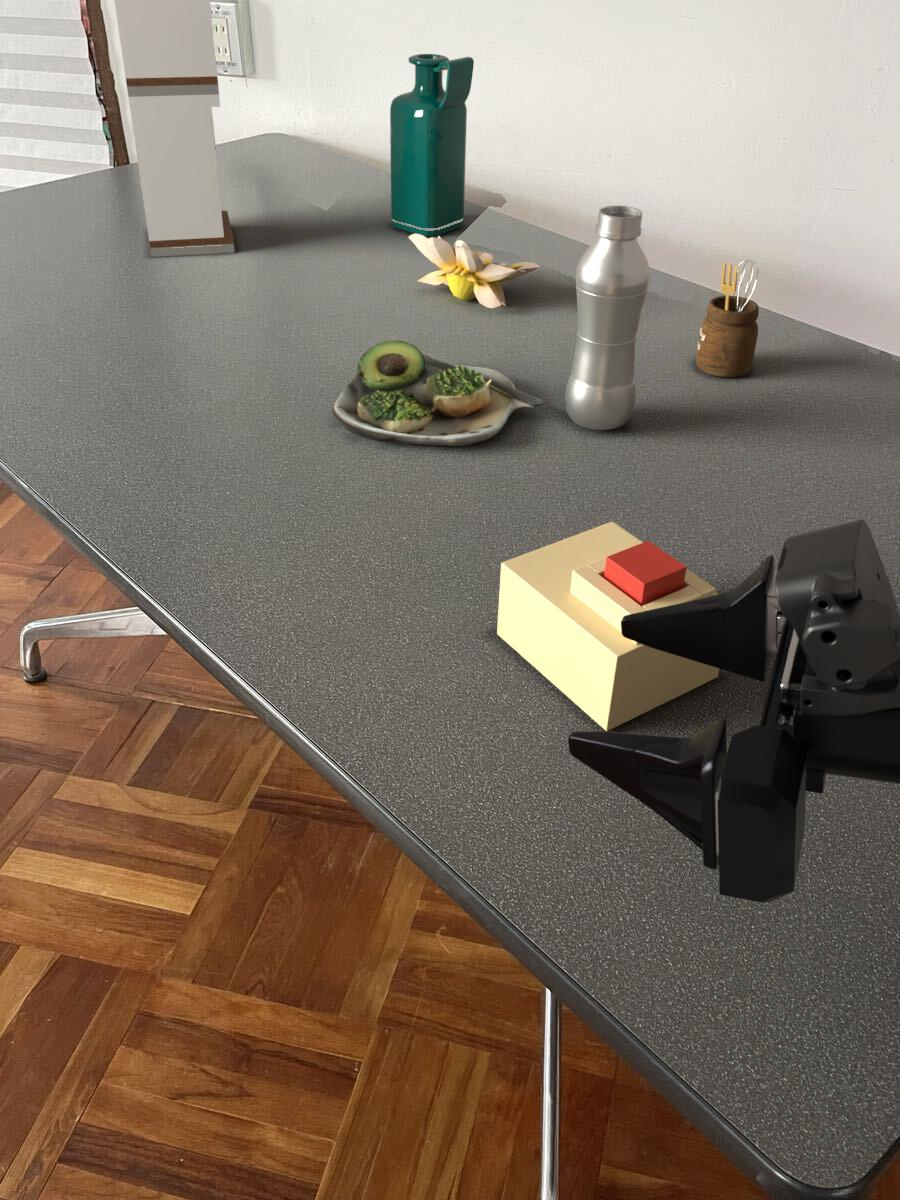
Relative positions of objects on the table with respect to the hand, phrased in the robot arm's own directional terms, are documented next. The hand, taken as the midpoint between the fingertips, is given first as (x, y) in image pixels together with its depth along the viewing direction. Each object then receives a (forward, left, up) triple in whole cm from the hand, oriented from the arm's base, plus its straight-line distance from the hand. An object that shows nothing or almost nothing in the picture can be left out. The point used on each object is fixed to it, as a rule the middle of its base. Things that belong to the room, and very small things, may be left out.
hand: (597, 680), depth 51 cm
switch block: (0, -20, -14) cm, 24 cm away
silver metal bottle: (+3, -55, -14) cm, 57 cm away
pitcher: (+31, -110, -14) cm, 115 cm away
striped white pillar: (+61, -96, -14) cm, 115 cm away
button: (-2, -18, -7) cm, 19 cm away
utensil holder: (-9, -71, -14) cm, 73 cm away
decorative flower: (+20, -85, -14) cm, 89 cm away
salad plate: (+20, -54, -14) cm, 60 cm away
